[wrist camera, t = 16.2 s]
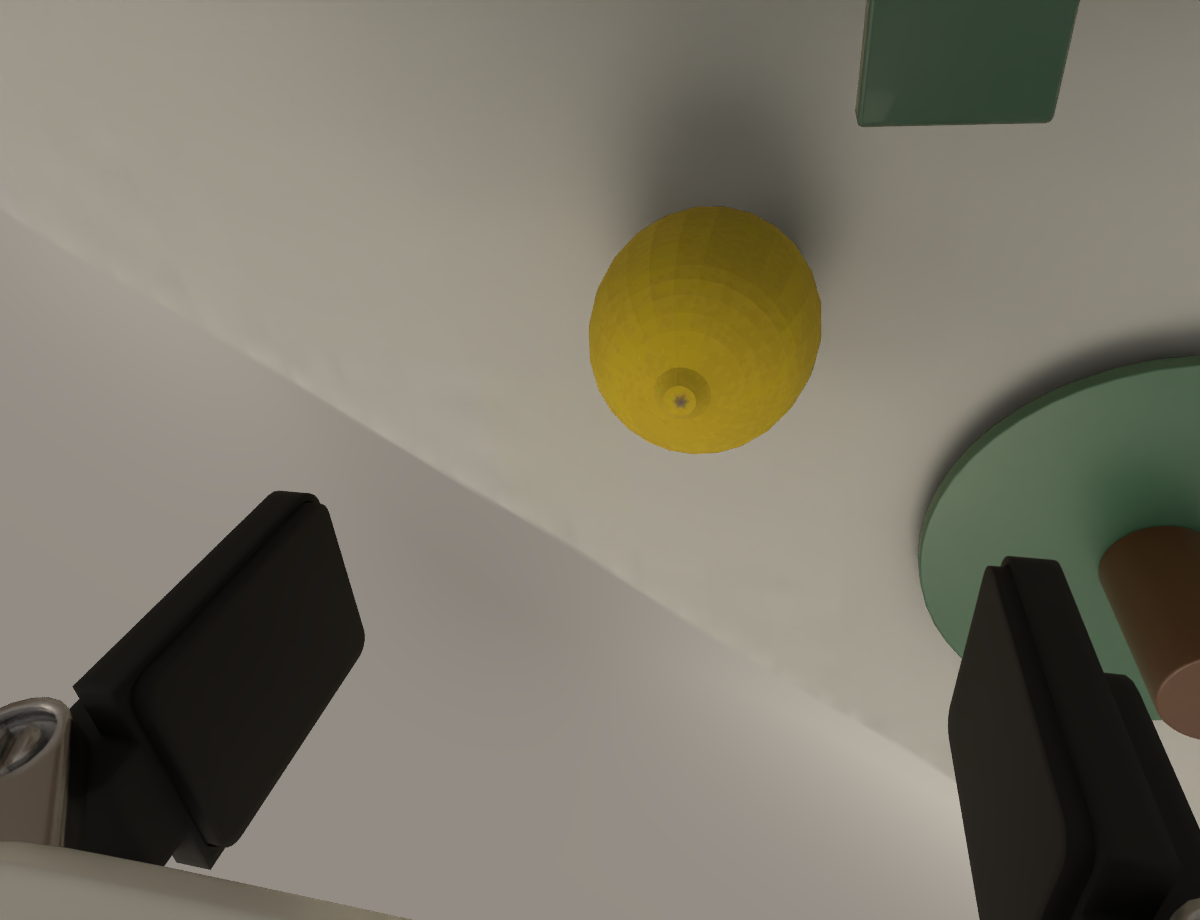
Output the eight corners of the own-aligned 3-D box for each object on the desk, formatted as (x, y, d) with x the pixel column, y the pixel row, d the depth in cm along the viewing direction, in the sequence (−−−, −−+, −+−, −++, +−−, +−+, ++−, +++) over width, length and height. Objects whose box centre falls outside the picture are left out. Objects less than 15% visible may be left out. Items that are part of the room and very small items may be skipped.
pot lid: (1525, 356, 19) (1783, 501, 14) (1307, 719, 25) (1426, 906, 20) (952, 335, 22) (989, 447, 17) (891, 664, 29) (905, 816, 23)
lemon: (775, 388, 24) (754, 548, 17) (606, 323, 24) (523, 458, 18) (858, 216, 21) (872, 333, 14) (664, 144, 21) (588, 226, 15)
